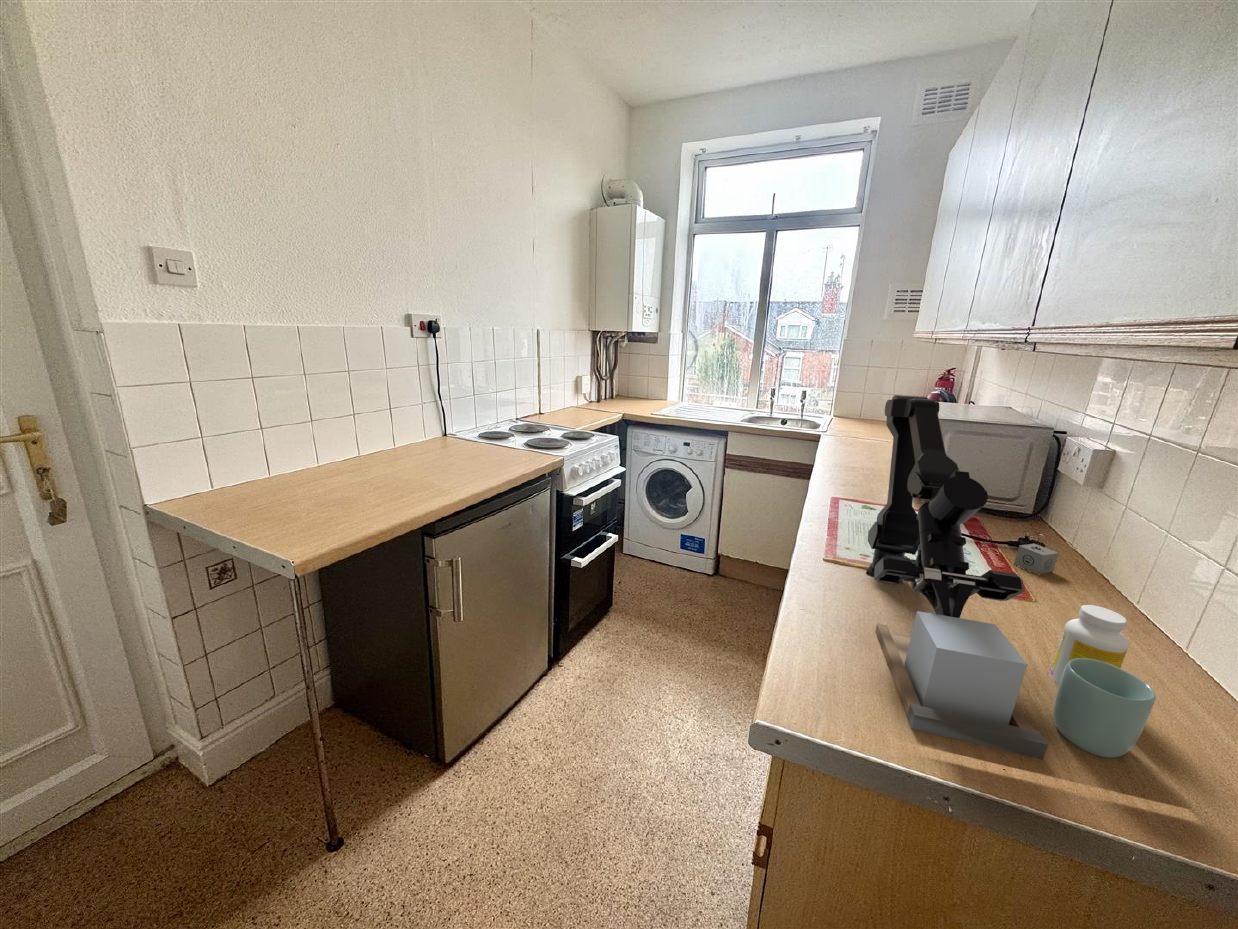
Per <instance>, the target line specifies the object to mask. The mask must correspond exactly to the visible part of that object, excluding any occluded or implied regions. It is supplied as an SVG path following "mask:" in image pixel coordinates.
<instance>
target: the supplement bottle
mask: <svg viewBox="0 0 1238 929" xmlns="http://www.w3.org/2000/svg"><path fill="white" fill-rule="evenodd" d="M1078 614H1079V618H1073V619H1070V620H1069V621H1067V622H1066V624H1065V626H1064V628H1063V631H1062V634H1061V638H1060V640H1059V641H1060V642H1059V644H1058V648H1057V650H1056V653H1055V655H1054V656H1055V657H1054V660H1053V662H1052V665H1051V669H1050V672H1049V675H1050V678H1051V679H1052V681H1053V682H1054V683H1056V685H1058V686H1059V684H1060V681H1061V678H1062V675H1063V672H1064V669H1065V667H1066V665H1067V663H1068V662H1069V661H1070V660H1072V659H1077V658H1087V659H1094V660H1098V661H1102V662H1105V663H1108V664H1111V665H1114V666H1116V667H1118V668H1121V669H1122V665H1123V663H1124V660H1125V657H1126V655H1127V653H1128V649H1129V642H1128V639H1127V638H1126V637H1125V635H1124V634H1123V633H1121V632H1122V631H1123V630H1124V629H1125V628H1126V624H1127V619H1126V618H1125V617H1124V616H1123V615H1121V613H1118V612H1115V611H1114V610H1111V609H1108V608H1105V607H1102V606H1098V605H1093V604H1083V605H1081V607H1080V609H1079V612H1078Z"/></svg>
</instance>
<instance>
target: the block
mask: <svg viewBox="0 0 1238 929" xmlns="http://www.w3.org/2000/svg"><path fill="white" fill-rule="evenodd" d="M915 612H916V614H915V617H914V621H913V624H912V625H913V626H912V631H911V635H910V637H909V638H910V642H909V647H908V651H907V655H906V660H905V664H904V667H905V669H906V671H907V674H908V676H909V679H910V681H911V683H912V686H913V688H914V690H915V693H916V695H917V698H918V700H919V702H920V705H921V706H923V707H928V708H932V709H937V710H941V711H946V712H951V713H955V714H960V715H964V716H969V717H974V718H978V719H983V720H987V721H992V722H997V723H1001V724H1006V725H1009V722H1010V719H1011V715H1012V712H1013V709H1014V706H1015V703H1016V704H1017V699H1018V697H1019V696H1018V695H1019V693H1020V690H1021V687H1022V683H1023V680H1024V677H1025V674H1026V670H1027V666H1028V663H1027V662H1026V661H1025V659H1024V658H1023V657H1022V656H1021V655H1020V653H1019V652H1018V650H1016V648H1015V647H1014V646H1013V645H1012V643H1011V642H1010V641H1009V640H1008V638H1007V637H1006V636H1005V634H1004V633H1003V632H1002V631H1001V630H1000V628H999V627H998V626H997V624H995V623H989V622H984V621H978V620H973V619H968V618H967V619H966V618H962V617H960V618H956V617H950V616H944V615H938V614H936V613H932V612H924V611H918V610H916V611H915Z"/></svg>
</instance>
